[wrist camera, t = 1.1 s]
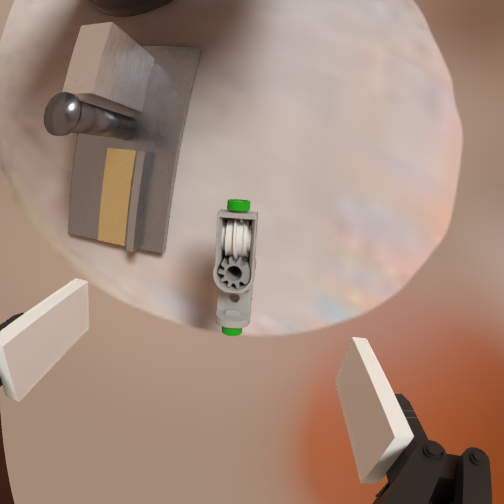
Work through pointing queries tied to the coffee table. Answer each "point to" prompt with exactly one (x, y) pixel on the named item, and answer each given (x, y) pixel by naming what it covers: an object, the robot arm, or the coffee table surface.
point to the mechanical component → (235, 265)
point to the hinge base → (146, 138)
